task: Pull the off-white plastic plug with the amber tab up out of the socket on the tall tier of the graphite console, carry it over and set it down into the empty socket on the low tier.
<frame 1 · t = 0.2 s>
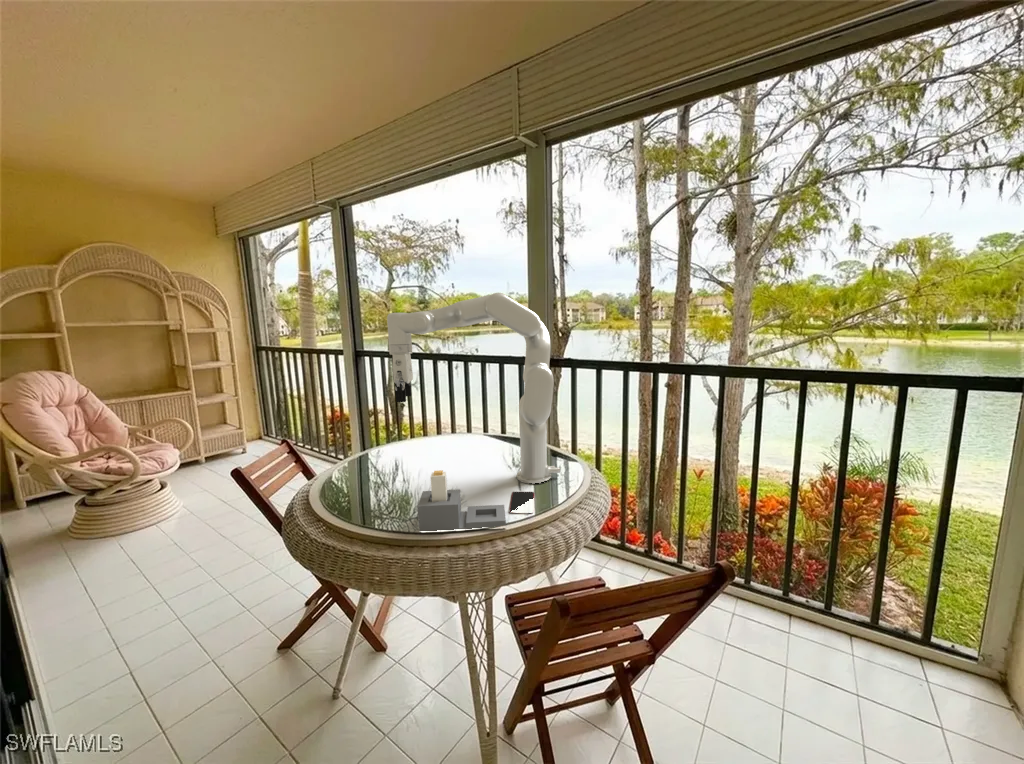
hand: (404, 398, 146), 31 cm above the table, tool pointing down, fingers open, 9 cm apart
plug: (439, 500, 121), point 7 cm above the table, touching console
smartphone: (522, 504, 134), on the table
console: (463, 522, 122), on the table
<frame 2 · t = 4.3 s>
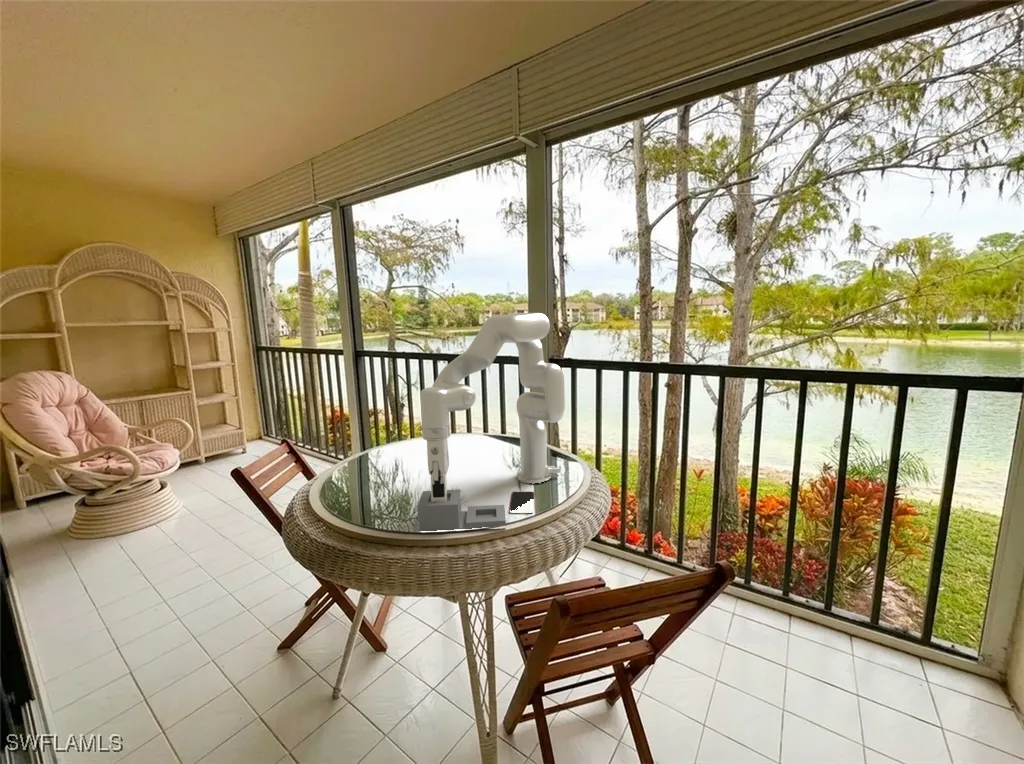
hand: (439, 493, 120), 9 cm above the table, tool pointing down, fingers closed on plug, 2 cm apart
plug: (439, 500, 120), point 7 cm above the table, touching gripper
everything else where it was.
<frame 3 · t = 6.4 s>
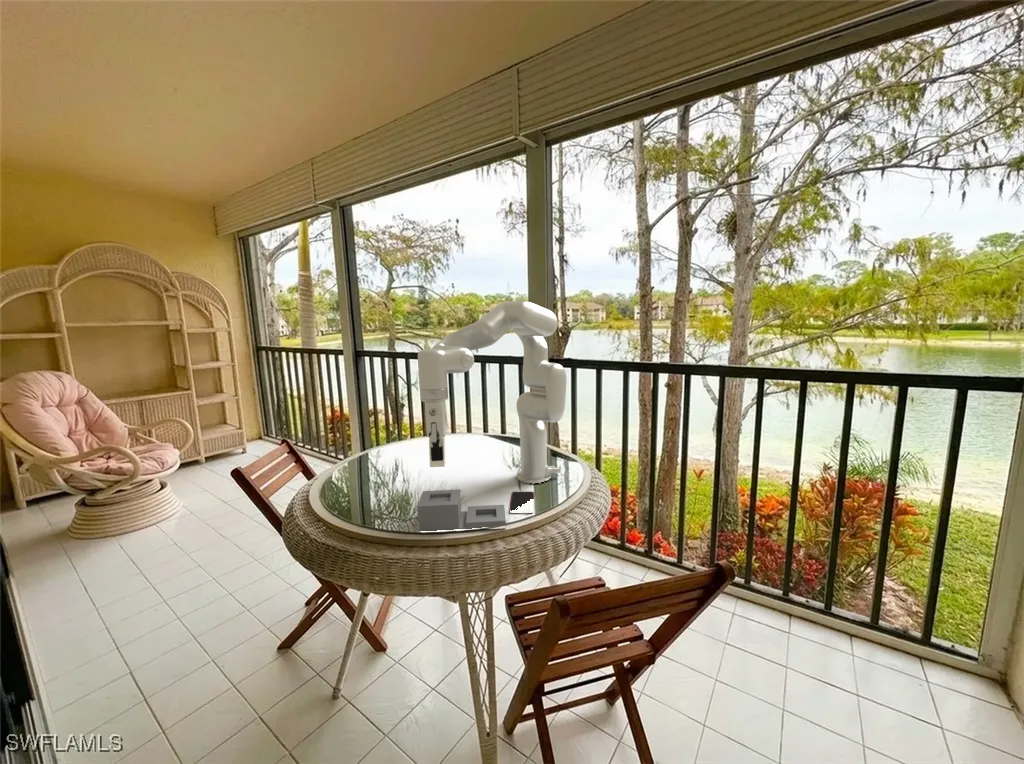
hand: (438, 457, 119), 20 cm above the table, tool pointing down, fingers closed on plug, 3 cm apart
plug: (437, 464, 119), point 18 cm above the table, touching gripper
everything else where it was.
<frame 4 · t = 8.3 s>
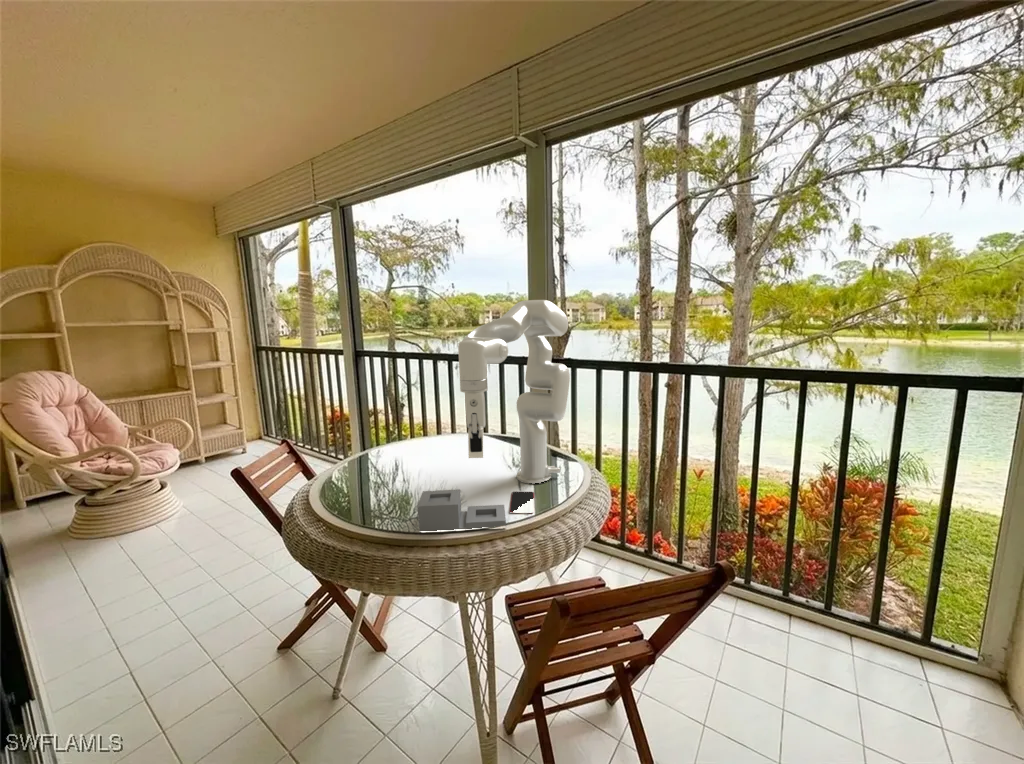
hand: (476, 448, 119), 22 cm above the table, tool pointing down, fingers closed on plug, 3 cm apart
plug: (476, 456, 119), point 20 cm above the table, touching gripper
everything else where it was.
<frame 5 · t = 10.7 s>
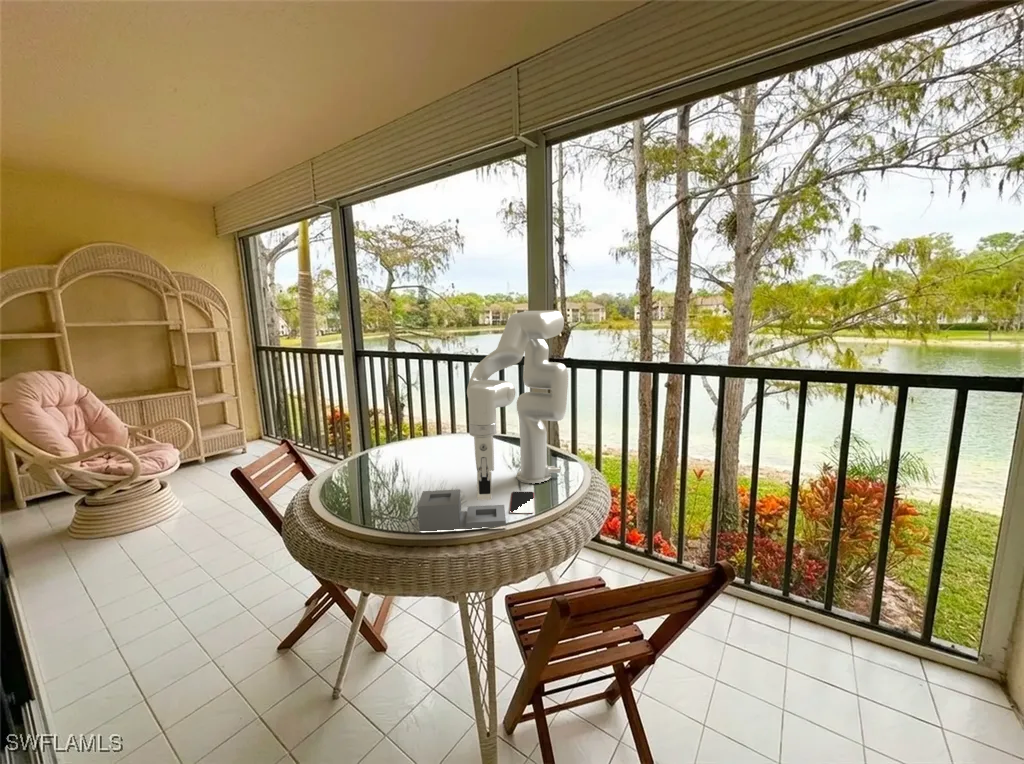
hand: (484, 490, 121), 10 cm above the table, tool pointing down, fingers closed on plug, 3 cm apart
plug: (484, 497, 121), point 7 cm above the table, touching gripper
everything else where it was.
when the fingers open (4 cm above the table, at t = 12.8 s): plug stays where it is, resting on console.
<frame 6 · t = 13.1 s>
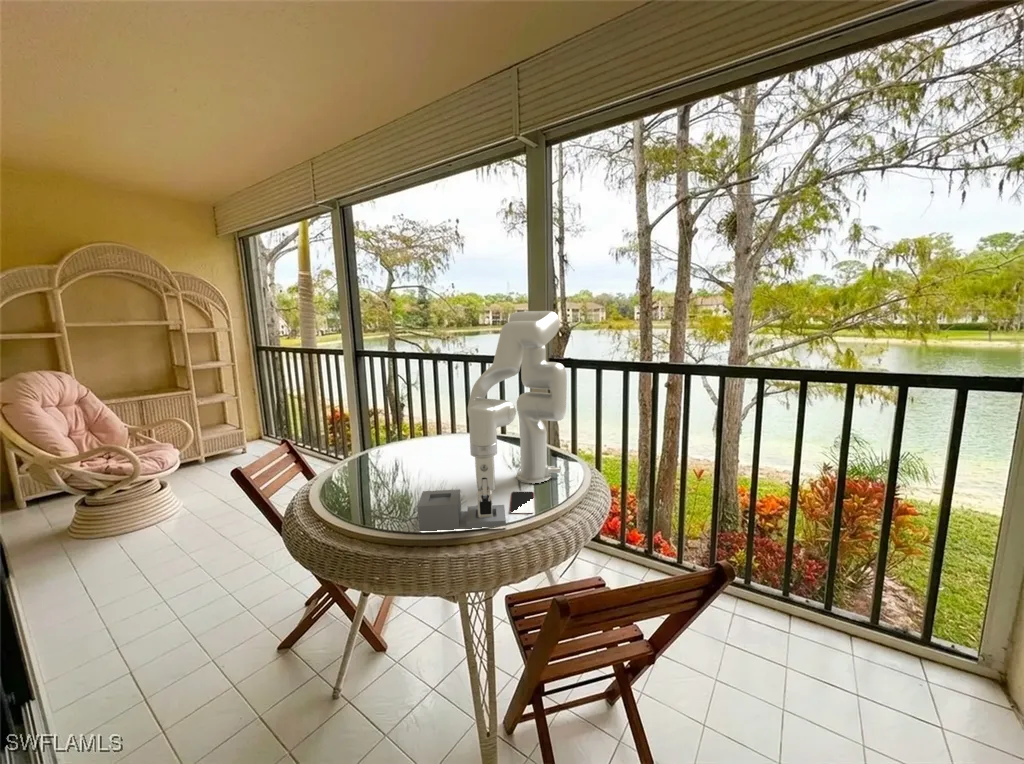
hand: (485, 507, 122), 4 cm above the table, tool pointing down, fingers open, 6 cm apart
plug: (485, 518, 122), point 1 cm above the table, touching console
everything else where it was.
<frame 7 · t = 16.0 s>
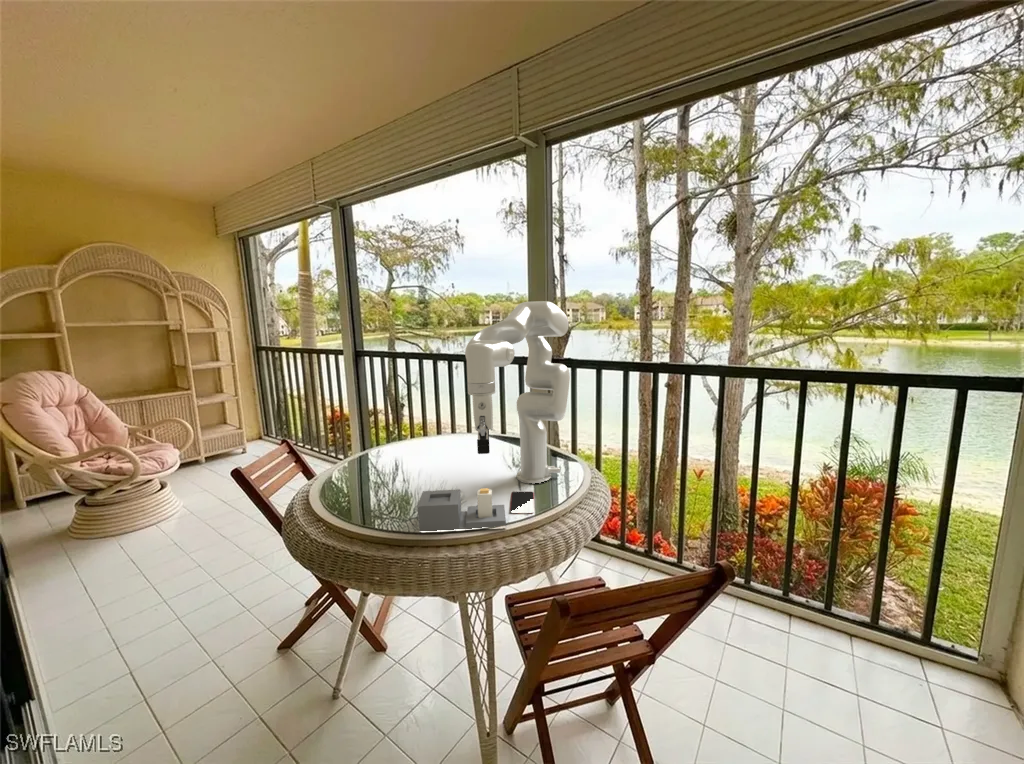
hand: (483, 447, 119), 22 cm above the table, tool pointing down, fingers open, 9 cm apart
nothing on the table moved.
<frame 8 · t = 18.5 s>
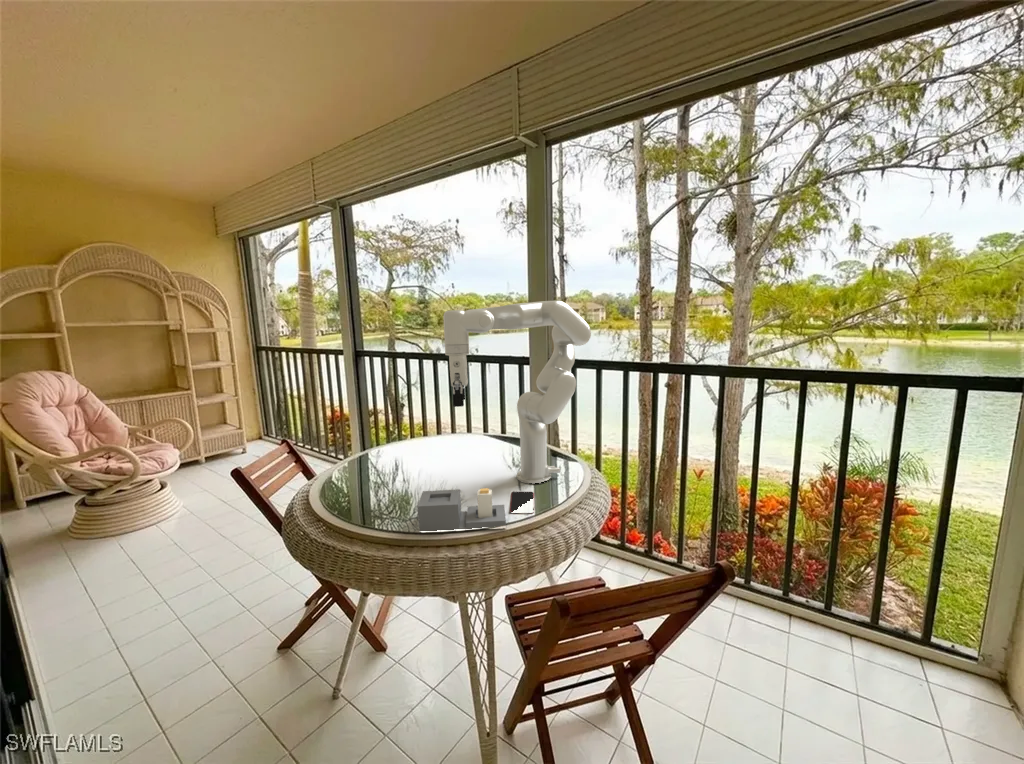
hand: (459, 403, 136), 31 cm above the table, tool pointing down, fingers open, 9 cm apart
nothing on the table moved.
at the end: plug 0.2 cm from the target spot on the console, point 1.0 cm above the console's base; plug tilted 0°; the gripper is holding nothing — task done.
